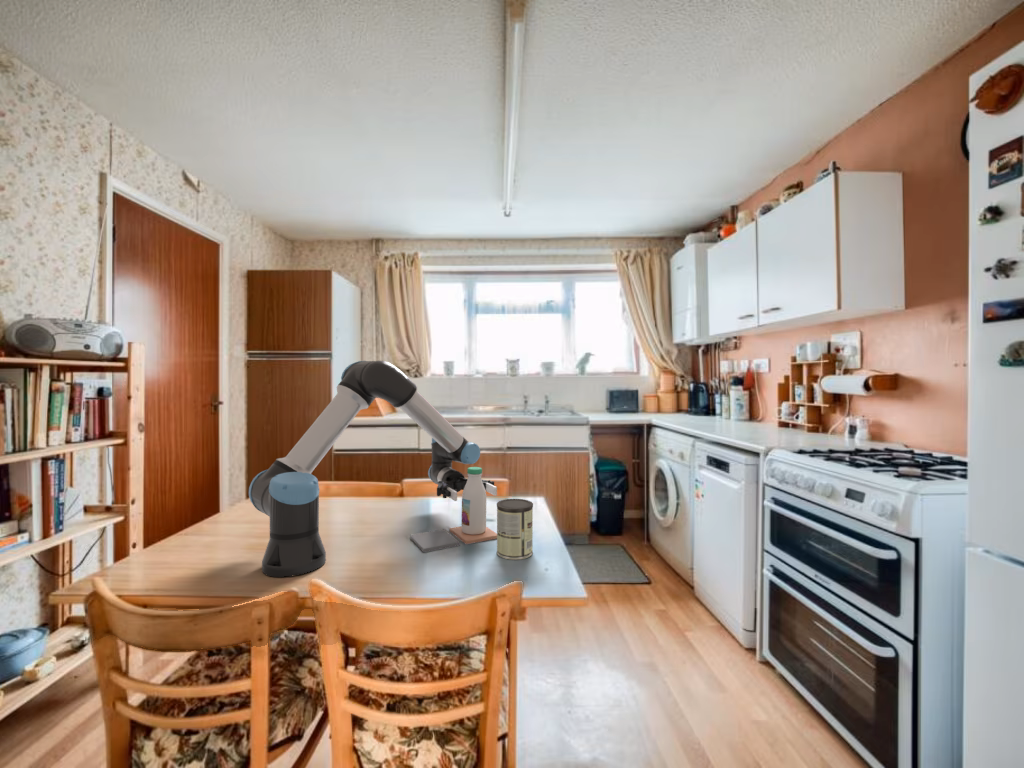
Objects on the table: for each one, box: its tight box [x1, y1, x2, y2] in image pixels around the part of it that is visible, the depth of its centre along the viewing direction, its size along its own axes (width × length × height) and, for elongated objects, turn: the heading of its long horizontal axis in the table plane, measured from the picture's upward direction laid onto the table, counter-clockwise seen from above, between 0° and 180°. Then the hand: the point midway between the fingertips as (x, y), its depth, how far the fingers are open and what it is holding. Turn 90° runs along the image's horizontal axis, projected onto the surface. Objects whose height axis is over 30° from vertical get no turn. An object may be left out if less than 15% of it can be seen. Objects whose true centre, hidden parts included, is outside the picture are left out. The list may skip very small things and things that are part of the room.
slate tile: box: [409, 528, 461, 553], centre depth 138 cm, size 11×13×1 cm
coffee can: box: [496, 498, 534, 561], centre depth 130 cm, size 10×10×14 cm
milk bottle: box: [460, 466, 487, 535], centre depth 144 cm, size 8×8×20 cm
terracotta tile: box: [449, 525, 497, 545], centre depth 144 cm, size 11×13×1 cm
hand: (476, 493), depth 143 cm, fingers open, 13 cm apart
